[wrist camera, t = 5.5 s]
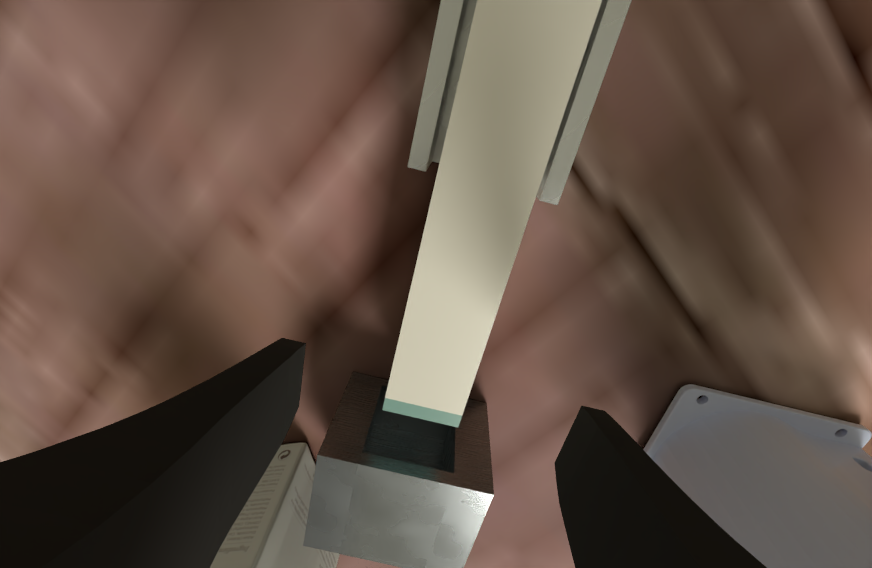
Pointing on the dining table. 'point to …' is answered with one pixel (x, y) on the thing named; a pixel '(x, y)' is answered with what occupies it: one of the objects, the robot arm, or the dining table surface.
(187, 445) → the robot arm
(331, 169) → the dining table surface
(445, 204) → the inner rod
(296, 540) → the skincare box
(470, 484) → the socket
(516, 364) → the dining table surface
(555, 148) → the sleeve
